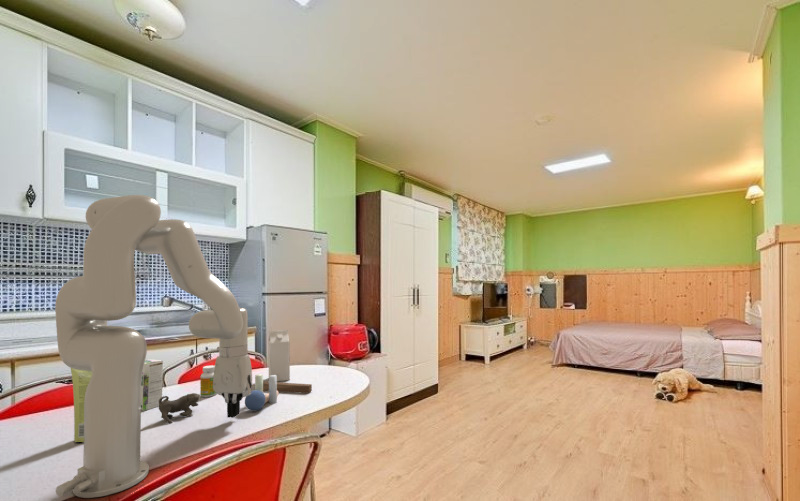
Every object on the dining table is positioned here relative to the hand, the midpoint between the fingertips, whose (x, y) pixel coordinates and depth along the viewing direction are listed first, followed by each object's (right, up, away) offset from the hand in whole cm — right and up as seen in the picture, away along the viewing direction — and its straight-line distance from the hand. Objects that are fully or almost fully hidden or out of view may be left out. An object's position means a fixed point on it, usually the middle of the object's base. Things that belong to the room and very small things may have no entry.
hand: (233, 415), depth 112 cm
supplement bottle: (-19, -3, +24) cm, 31 cm away
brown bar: (+7, -3, +27) cm, 28 cm away
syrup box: (-33, -3, +13) cm, 35 cm away
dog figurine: (-17, -2, +4) cm, 18 cm away
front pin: (+3, -1, +13) cm, 13 cm away
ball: (+3, +1, +8) cm, 9 cm away
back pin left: (+1, -2, +16) cm, 17 cm away
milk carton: (0, -4, +42) cm, 42 cm away
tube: (-33, -2, -10) cm, 35 cm away
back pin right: (+6, -2, +15) cm, 17 cm away
